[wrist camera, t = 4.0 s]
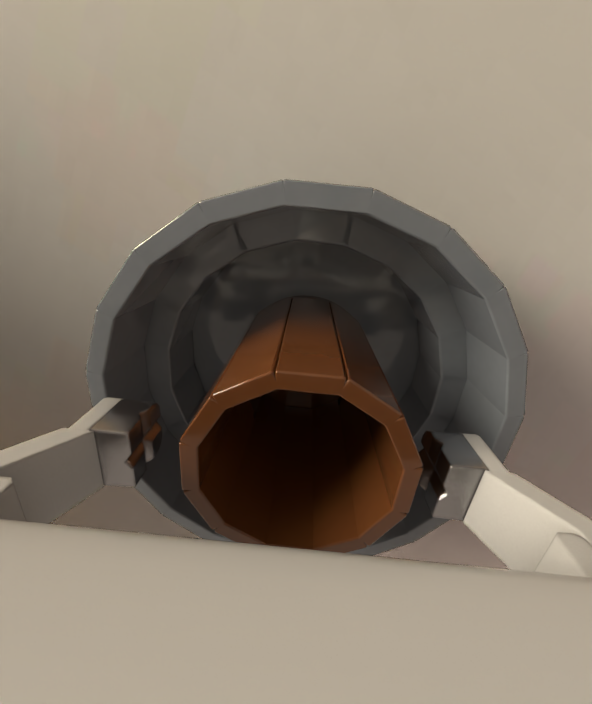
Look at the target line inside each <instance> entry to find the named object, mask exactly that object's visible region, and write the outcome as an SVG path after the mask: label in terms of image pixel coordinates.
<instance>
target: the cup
mask: <svg viewBox="0 0 592 704" xmlns="http://www.w3.org/2000/svg"><path fill="white" fill-rule="evenodd" d="M179 455H180V470H181V484H182V489H183V490H184V491H183V493H184V494H185V496H186V497H187V498H188V499H189V501H190V502H191V503H192V505H193V506H194V507H195V508H196V510H197V511H198V512H199V514H200V515H201V516H202V517H203V519H204V520H205V521H206V523H207V524H208V525H209V526H210V528H211V529H215V532H216V533H218V534H220V535H222V536H224V537H226V538H228V539H230V540H232V541H234V542H239V543H249V544H259V545H269V546H279V547H289V548H300V549H310V550H320V551H330V552H340V553H347V552H351V551H355V550H359V549H363V548H366V547H367V545H368V546H370V545H372V544H373V543H374V542H375V541H376V540H378V539H379V538H380V537H381V536H383V535H384V534H385V533H386V532H388V531H389V530H390V529H391V528H393V527H394V526H395V525H396V524H397V523H399V522H400V521H401V520H402V519H404V518H405V517H406V516H407V513H409V511H410V508H411V505H412V502H413V499H414V496H415V493H416V490H417V487H418V484H419V481H420V478H421V474H422V471H423V467H422V466H423V462H422V460H421V457H420V455H419V452H418V449H417V447H416V444H415V442H414V439H413V437H412V434H411V431H410V429H409V426H408V424H407V421H406V419H405V416H404V414H403V412H402V410H401V408H400V406H399V404H398V402H397V400H396V398H395V396H394V393H393V391H392V389H391V387H390V385H389V383H388V381H387V379H386V377H385V375H384V373H383V371H382V369H381V367H380V364H379V362H378V360H377V358H376V356H375V354H374V352H373V350H372V348H371V346H370V344H369V342H368V340H367V337H366V335H365V333H364V331H363V329H362V327H361V325H360V323H359V322H358V321H357V320H356V319H355V318H354V317H353V316H352V315H351V314H350V313H349V312H348V311H346V310H345V309H344V308H343V307H341V306H339V305H338V304H336V303H334V302H332V301H330V300H327V299H324V298H321V297H316V296H306V295H300V296H292V297H287V298H284V299H281V300H278V301H276V302H274V303H272V304H270V305H269V306H267V307H266V308H264V309H263V310H261V311H260V312H258V313H257V315H256V316H255V318H254V319H253V321H252V322H251V323H250V325H249V327H248V328H247V330H246V331H245V332H244V334H243V335H242V337H241V338H240V340H239V342H238V343H237V345H236V347H235V348H234V350H233V352H232V353H231V355H230V357H229V358H228V360H227V362H226V363H225V365H224V367H223V368H222V370H221V372H220V373H219V375H218V377H217V378H216V380H215V381H214V383H213V385H212V386H211V388H210V390H209V391H208V393H207V395H206V396H205V398H204V400H203V401H202V403H201V405H200V406H199V408H198V410H197V411H196V413H195V415H194V416H193V418H192V420H191V421H190V423H189V425H188V426H187V428H186V429H185V431H184V433H183V434H182V436H181V438H180V442H179Z"/></svg>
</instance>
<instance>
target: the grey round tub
mask: <svg viewBox="0 0 592 704" xmlns="http://www.w3.org/2000/svg"><path fill="white" fill-rule="evenodd" d="M300 295H306V296H316V297H321V298H324V299H327V300H330V301H332V302H334V303H336V304H338V305H339V306H341V307H343V308H344V309H345V310H346V311H348V312H349V313H350V314H351V315H352V316H353V317H354V318H355V319H356V320H357V321H358V322H359V323H360V325H361V327H362V329H363V331H364V333H365V335H366V337H367V340H368V342H369V344H370V346H371V348H372V350H373V352H374V354H375V356H376V358H377V360H378V362H379V364H380V367H381V369H382V371H383V373H384V375H385V377H386V379H387V381H388V383H389V385H390V387H391V389H392V391H393V393H394V396H395V398H396V400H397V402H398V404H399V406H400V408H401V410H402V412H403V414H404V416H405V419H406V421H407V424H408V426H409V429H410V431H411V434H412V437H413V439H414V442H415V444H416V447H417V449H418V452H419V451H421V450H422V449H423V448H424V447H423V445H422V443H421V439H422V436H423V434H424V433H425V431H436V432H448V433H465V434H476V435H478V436H480V437H481V438H482V439H483V441H484V442H485V443H486V444H487V446H488V447H489V448H490V449H491V450H492V452H493V453H494V454H495V455H496V457H497V458H498V459H499V460H500V462H501V463H502V464H503V463H504V461H505V458H506V456H507V454H508V452H509V450H510V447H511V445H512V443H513V441H514V438H515V436H516V434H517V432H518V430H519V427H520V425H521V423H522V421H523V418H524V415H525V400H526V383H527V366H528V350H527V347H526V344H525V341H524V338H523V335H522V333H521V330H520V327H519V324H518V321H517V318H516V315H515V312H514V310H513V307H512V304H511V301H510V298H509V295H508V292H507V289H506V287H504V284H503V283H502V282H501V281H500V280H499V278H498V277H497V276H496V275H495V274H494V273H493V272H492V271H491V270H490V268H489V267H488V266H487V265H486V264H485V263H484V262H483V261H482V260H481V258H480V257H479V256H478V255H477V254H476V253H475V252H474V251H473V250H472V248H471V247H470V246H469V245H468V244H467V243H466V242H465V241H464V239H463V238H462V237H461V236H460V235H459V234H458V233H457V232H456V231H455V229H453V228H451V227H450V225H447V224H445V223H443V222H441V221H439V220H437V219H435V218H433V217H431V216H429V215H427V214H425V213H423V212H421V211H419V210H417V209H415V208H413V207H411V206H409V205H407V204H405V203H403V202H401V201H399V200H397V199H395V198H393V197H391V196H389V195H387V194H385V193H383V192H381V191H379V190H377V189H373V188H370V187H360V186H349V185H339V184H329V183H319V182H309V181H299V180H289V179H285V180H284V181H283V180H278V181H274V182H271V183H267V184H263V185H259V186H255V187H252V188H248V189H244V190H240V191H236V192H233V193H229V194H225V195H221V196H218V197H214V198H210V199H206V200H202V201H200V203H196V204H194V205H193V206H192V207H190V208H189V209H187V210H186V211H185V212H183V213H182V214H181V215H179V216H178V217H176V218H175V219H174V220H172V221H171V222H169V223H168V224H167V225H165V226H164V227H163V228H161V229H160V230H158V231H157V232H156V233H154V234H153V235H152V236H150V237H149V238H147V239H146V240H145V241H143V242H142V243H140V244H139V245H138V246H136V247H135V249H133V250H132V252H131V253H130V255H129V257H128V258H127V260H126V261H125V263H124V265H123V266H122V268H121V269H120V271H119V273H118V274H117V276H116V277H115V279H114V281H113V282H112V284H111V285H110V287H109V289H108V290H107V292H106V293H105V295H104V297H103V298H102V300H101V301H100V303H99V305H98V306H97V310H96V313H95V319H94V324H93V330H92V336H91V342H90V347H89V353H88V359H87V364H86V377H87V382H88V388H89V393H90V398H91V403H92V408H93V407H94V406H95V405H97V404H98V403H99V402H100V401H101V400H102V399H104V398H108V397H110V398H121V399H129V400H137V401H145V402H153V403H157V404H158V405H159V406H160V413H161V416H160V417H159V418H158V420H157V422H158V423H159V425H160V426H161V427H162V442H161V445H160V448H159V451H158V453H157V454H156V456H155V458H154V459H152V460H150V461H148V462H147V463H146V467H147V470H146V471H145V473H144V474H143V476H142V477H141V479H140V480H139V482H138V484H137V485H136V487H134V488H135V489H136V490H137V491H138V492H139V493H140V494H141V495H142V496H143V497H144V498H145V499H146V500H147V501H148V502H149V503H150V504H151V505H152V506H153V507H154V508H155V509H157V510H158V511H159V512H160V513H161V514H163V516H165V517H166V518H168V519H170V520H171V521H173V522H175V523H176V524H178V525H180V526H182V527H183V528H185V529H187V530H188V531H190V532H192V533H193V534H195V535H197V536H198V537H200V538H202V539H209V540H219V541H229V542H234V541H232V540H230V539H228V538H226V537H224V536H222V535H220V534H218V533H216V532H215V529H211V528H210V526H209V525H208V524H207V523H206V521H205V520H204V519H203V517H202V516H201V515H200V514H199V512H198V511H197V510H196V508H195V507H194V506H193V505H192V503H191V502H190V501H189V499H188V498H187V497H186V496H185V494H184V493H183V491H184V490H183V489H182V484H181V470H180V455H179V442H180V438H181V436H182V434H183V433H184V431H185V429H186V428H187V426H188V425H189V423H190V421H191V420H192V418H193V416H194V415H195V413H196V411H197V410H198V408H199V406H200V405H201V403H202V401H203V400H204V398H205V396H206V395H207V393H208V391H209V390H210V388H211V386H212V385H213V383H214V381H215V380H216V378H217V377H218V375H219V373H220V372H221V370H222V368H223V367H224V365H225V363H226V362H227V360H228V358H229V357H230V355H231V353H232V352H233V350H234V348H235V347H236V345H237V343H238V342H239V340H240V338H241V337H242V335H243V334H244V332H245V331H246V330H247V328H248V327H249V325H250V323H251V322H252V321H253V319H254V318H255V316H256V315H257V313H258V312H260V311H261V310H263V309H264V308H266V307H267V306H269V305H270V304H272V303H274V302H276V301H278V300H281V299H284V298H287V297H292V296H300ZM425 493H426V491H425V490H424V489H423V488H422V487H420V486H419V484H418V487H417V490H416V493H415V496H414V499H413V502H412V505H411V508H410V511H409V513H407V516H406V517H405V518H404V519H402V520H401V521H400V522H399V523H397V524H396V525H395V526H394V527H393V528H391V529H390V530H389V531H388V532H386V533H385V534H384V535H383V536H381V537H380V538H379V539H378V540H376V541H375V542H374V543H373V544H372V545H370V546H368V545H367V547H366V548H363V549H359V550H355V551H351V552H347V553H350V554H360V555H369V556H374V555H377V554H380V553H383V552H386V551H389V550H392V549H395V548H398V547H401V546H404V545H407V544H410V543H413V542H415V541H417V540H418V539H420V538H422V537H423V536H425V535H426V534H428V533H430V532H431V531H433V530H434V529H436V528H438V527H439V526H441V525H442V524H444V523H446V522H447V521H449V520H450V519H443V518H436V517H432V515H431V513H430V510H429V508H428V506H427V503H426V501H425V499H424V496H425Z"/></svg>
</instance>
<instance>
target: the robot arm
mask: <svg viewBox="0 0 592 704" xmlns="http://www.w3.org/2000/svg"><path fill="white" fill-rule="evenodd" d="M160 416H161V413H160V406H159V405H158V404H157V403H153V402H145V401H137V400H129V399H121V398H110V397H108V398H104V399H102V400H101V401H100V402H99V403H98V404H97V405H95V406H94V407H93V408H92V409H91V410H89V411H88V412H87V413H86V414H85V415H84V416H82V417H81V418H80V419H79V420H78V421H77V422H75V423H74V424H73V425H72V426H71V427H69V428H61V429H58V430H55V431H53V432H50V433H47V434H44V435H42V436H39V437H36V438H33V439H31V440H28V441H25V442H22V443H20V444H17V445H14V446H11V447H9V448H6V449H3V450H0V704H592V520H591V519H590V518H588V517H586V516H585V515H583V514H581V513H580V512H578V511H576V510H575V509H573V508H572V507H570V506H568V505H567V504H565V503H563V502H562V501H560V500H558V499H557V498H555V497H553V496H552V495H550V494H548V493H547V492H545V491H543V490H542V489H540V488H538V487H537V486H535V485H534V484H532V483H530V482H529V481H527V480H525V479H524V478H522V477H520V476H519V475H517V474H515V473H509V471H508V470H507V469H506V468H505V466H504V465H503V464H502V463H501V462H500V460H499V459H498V458H497V457H496V455H495V454H494V453H493V452H492V450H491V449H490V448H489V447H488V446H487V444H486V443H485V442H484V441H483V439H482V438H481V437H480V436H478V435H476V434H465V433H448V432H436V431H425V433H424V434H423V436H422V439H421V443H422V445H423V447H424V448H423V449H422V450H421V451H419V455H420V457H421V460H422V462H423V466H422V467H423V471H422V474H421V478H420V481H419V486H420V487H422V488H423V489H424V490H425V491H426V493H425V496H424V499H425V501H426V503H427V506H428V508H429V510H430V513H431V515H432V517H436V518H443V519H451V520H459V521H463V523H464V524H465V525H466V526H467V527H468V528H469V529H470V530H471V531H472V532H473V533H474V534H475V535H476V536H477V537H478V538H479V539H480V540H481V541H482V542H483V543H484V544H485V545H486V546H487V547H488V548H489V549H490V550H491V551H492V552H493V553H494V554H495V555H496V556H497V557H498V558H499V559H500V560H501V561H502V562H503V563H504V564H505V565H506V566H507V567H508V568H509V569H500V568H490V567H479V566H469V565H458V564H448V563H438V562H428V561H419V560H409V559H399V558H389V557H379V556H369V555H360V554H350V553H340V552H330V551H320V550H310V549H300V548H289V547H279V546H269V545H259V544H249V543H239V542H229V541H219V540H209V539H198V538H188V537H178V536H168V535H158V534H148V533H138V532H128V531H118V530H108V529H98V528H88V527H78V526H68V525H58V524H49V523H51V522H52V521H54V520H55V519H57V518H58V517H59V516H61V515H62V514H64V513H65V512H67V511H68V510H70V509H71V508H73V507H74V506H76V505H77V504H79V503H80V502H82V501H83V500H85V499H86V498H88V497H89V496H91V495H92V494H94V493H95V492H97V491H98V490H100V489H101V488H103V487H104V485H110V486H124V487H136V485H137V484H138V482H139V480H140V479H141V477H142V476H143V474H144V473H145V471H146V470H147V467H146V463H147V462H148V461H150V460H152V459H154V458H155V456H156V454H157V453H158V451H159V448H160V445H161V442H162V427H161V426H160V425H159V423H158V422H157V420H158V418H159V417H160Z"/></svg>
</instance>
